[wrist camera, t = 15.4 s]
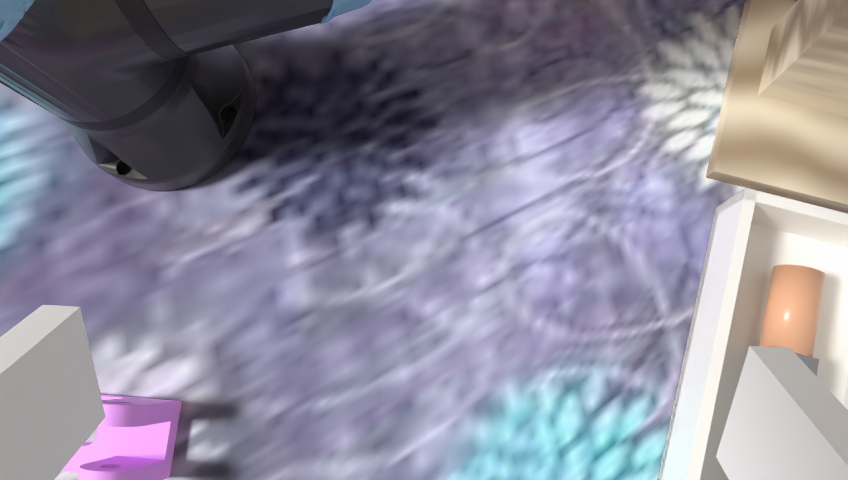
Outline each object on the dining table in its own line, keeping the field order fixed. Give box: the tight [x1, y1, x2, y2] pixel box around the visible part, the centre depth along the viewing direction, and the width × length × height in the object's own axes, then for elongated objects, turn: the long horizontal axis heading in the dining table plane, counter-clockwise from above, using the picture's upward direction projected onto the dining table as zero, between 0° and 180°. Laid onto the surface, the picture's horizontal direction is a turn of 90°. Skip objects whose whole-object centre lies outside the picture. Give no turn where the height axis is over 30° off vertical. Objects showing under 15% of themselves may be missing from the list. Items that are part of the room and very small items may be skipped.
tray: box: [658, 188, 848, 480], centre depth 39 cm, size 32×12×5 cm, turn 163°
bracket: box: [61, 394, 182, 480], centre depth 42 cm, size 13×6×7 cm, turn 86°
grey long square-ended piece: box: [728, 264, 826, 480], centre depth 39 cm, size 24×3×3 cm, turn 163°
